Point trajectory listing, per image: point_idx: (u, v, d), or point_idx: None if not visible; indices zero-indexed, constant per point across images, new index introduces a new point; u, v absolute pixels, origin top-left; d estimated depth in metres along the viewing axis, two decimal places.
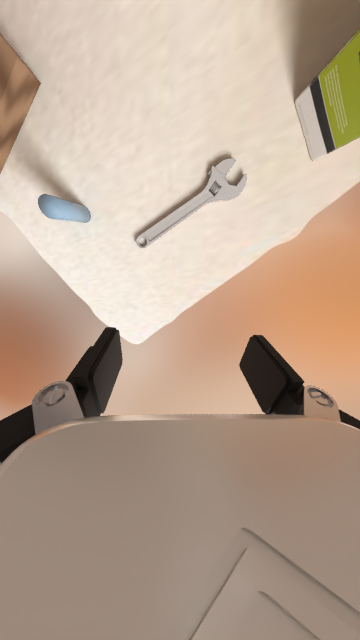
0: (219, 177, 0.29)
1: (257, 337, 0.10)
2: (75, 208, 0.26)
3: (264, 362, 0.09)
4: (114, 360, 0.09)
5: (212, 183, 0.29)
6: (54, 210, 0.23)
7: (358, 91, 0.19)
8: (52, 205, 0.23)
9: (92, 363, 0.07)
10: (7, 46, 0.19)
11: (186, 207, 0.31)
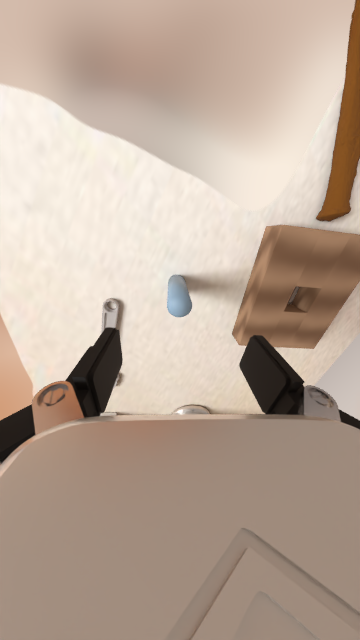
0: None
1: (257, 337, 0.10)
2: None
3: (264, 362, 0.09)
4: (114, 360, 0.09)
5: None
6: (173, 306, 0.18)
7: None
8: (177, 309, 0.18)
9: (92, 363, 0.07)
10: (244, 344, 0.29)
11: None
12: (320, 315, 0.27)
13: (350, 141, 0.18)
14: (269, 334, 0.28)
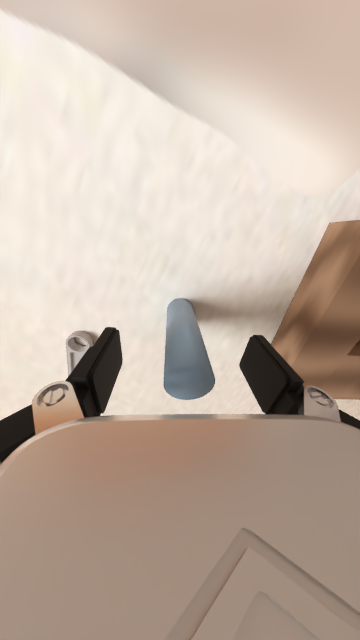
0: None
1: (257, 337, 0.10)
2: None
3: (264, 362, 0.09)
4: (114, 360, 0.09)
5: None
6: (177, 384, 0.09)
7: None
8: (185, 389, 0.09)
9: (92, 363, 0.07)
10: None
11: None
12: None
13: None
14: (318, 384, 0.19)
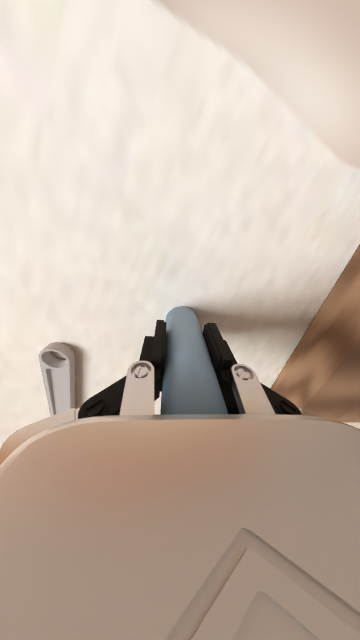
0: None
1: (209, 324, 0.11)
2: None
3: (209, 346, 0.10)
4: None
5: None
6: None
7: None
8: None
9: (160, 347, 0.08)
10: None
11: None
12: None
13: None
14: (346, 408, 0.16)
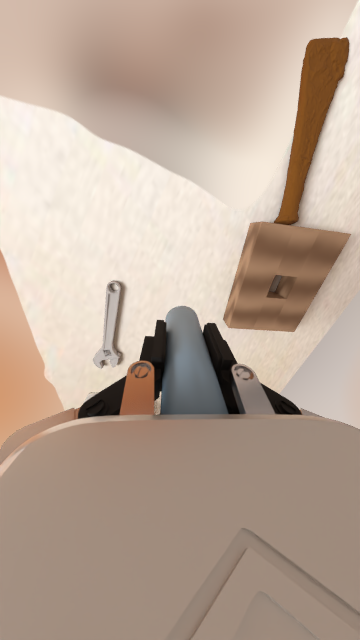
0: (111, 357, 0.40)
1: (209, 324, 0.11)
2: None
3: (209, 346, 0.10)
4: None
5: (111, 353, 0.39)
6: None
7: None
8: None
9: (160, 347, 0.08)
10: (233, 327, 0.34)
11: (110, 333, 0.36)
12: (298, 301, 0.31)
13: (299, 162, 0.22)
14: (254, 318, 0.33)
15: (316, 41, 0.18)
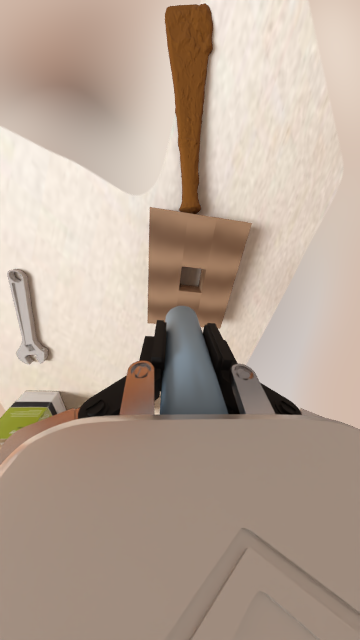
0: (35, 352, 0.38)
1: (209, 324, 0.11)
2: None
3: (209, 346, 0.10)
4: None
5: (34, 348, 0.37)
6: None
7: (14, 424, 0.38)
8: None
9: (160, 347, 0.08)
10: (153, 322, 0.32)
11: (27, 326, 0.34)
12: (215, 296, 0.30)
13: (184, 143, 0.21)
14: None
15: (173, 8, 0.17)
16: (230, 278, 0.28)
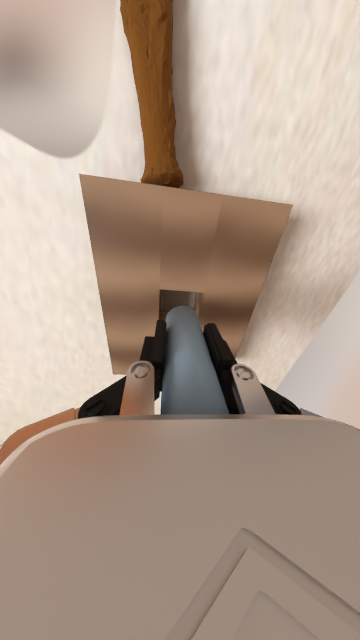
0: None
1: (209, 324, 0.11)
2: None
3: (209, 346, 0.10)
4: None
5: None
6: None
7: None
8: None
9: (160, 347, 0.08)
10: (121, 373, 0.20)
11: None
12: (220, 333, 0.18)
13: (136, 17, 0.09)
14: None
15: None
16: (246, 306, 0.16)
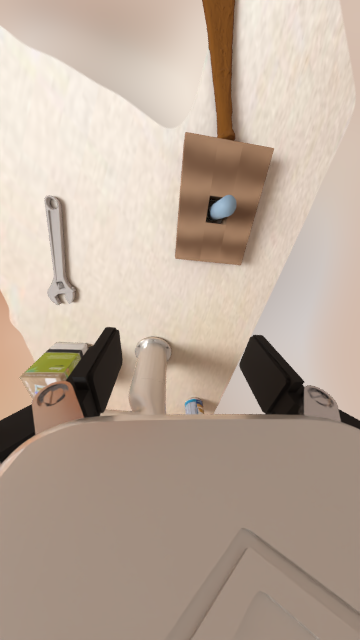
0: (65, 291, 0.40)
1: (257, 337, 0.10)
2: (215, 217, 0.30)
3: (264, 362, 0.09)
4: (114, 360, 0.09)
5: (64, 285, 0.40)
6: (223, 206, 0.26)
7: (52, 363, 0.42)
8: (225, 209, 0.26)
9: (92, 363, 0.07)
10: (180, 258, 0.35)
11: (59, 260, 0.37)
12: (238, 228, 0.33)
13: (219, 75, 0.24)
14: (199, 247, 0.34)
15: None
16: (252, 208, 0.31)
